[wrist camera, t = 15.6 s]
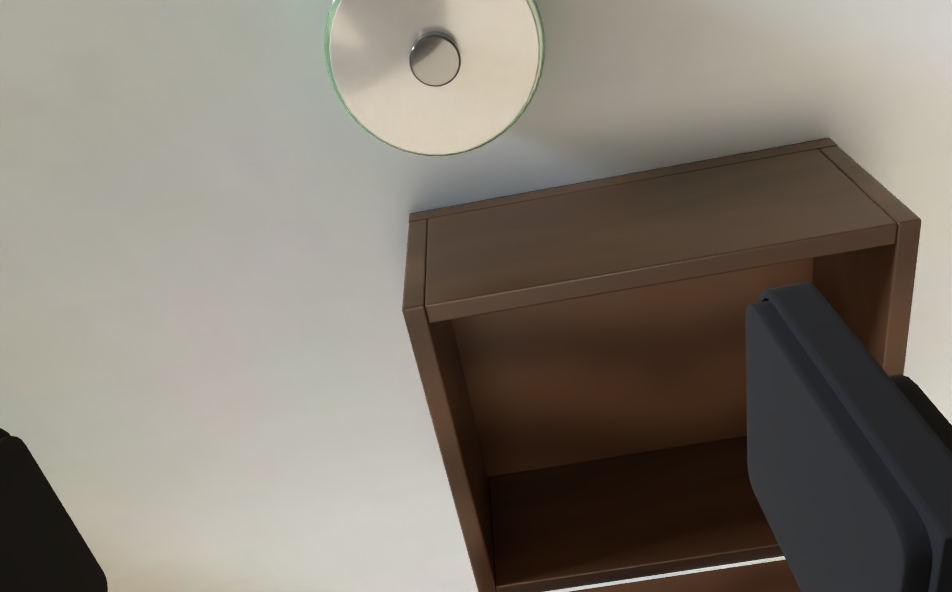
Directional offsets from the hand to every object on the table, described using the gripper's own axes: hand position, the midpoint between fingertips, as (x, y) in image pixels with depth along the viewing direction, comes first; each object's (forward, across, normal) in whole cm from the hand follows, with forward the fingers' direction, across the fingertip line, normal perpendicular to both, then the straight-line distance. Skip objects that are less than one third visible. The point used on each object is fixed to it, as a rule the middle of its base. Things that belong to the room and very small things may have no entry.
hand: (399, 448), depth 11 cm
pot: (+23, -1, 0) cm, 23 cm away
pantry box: (+23, -7, +15) cm, 29 cm away
